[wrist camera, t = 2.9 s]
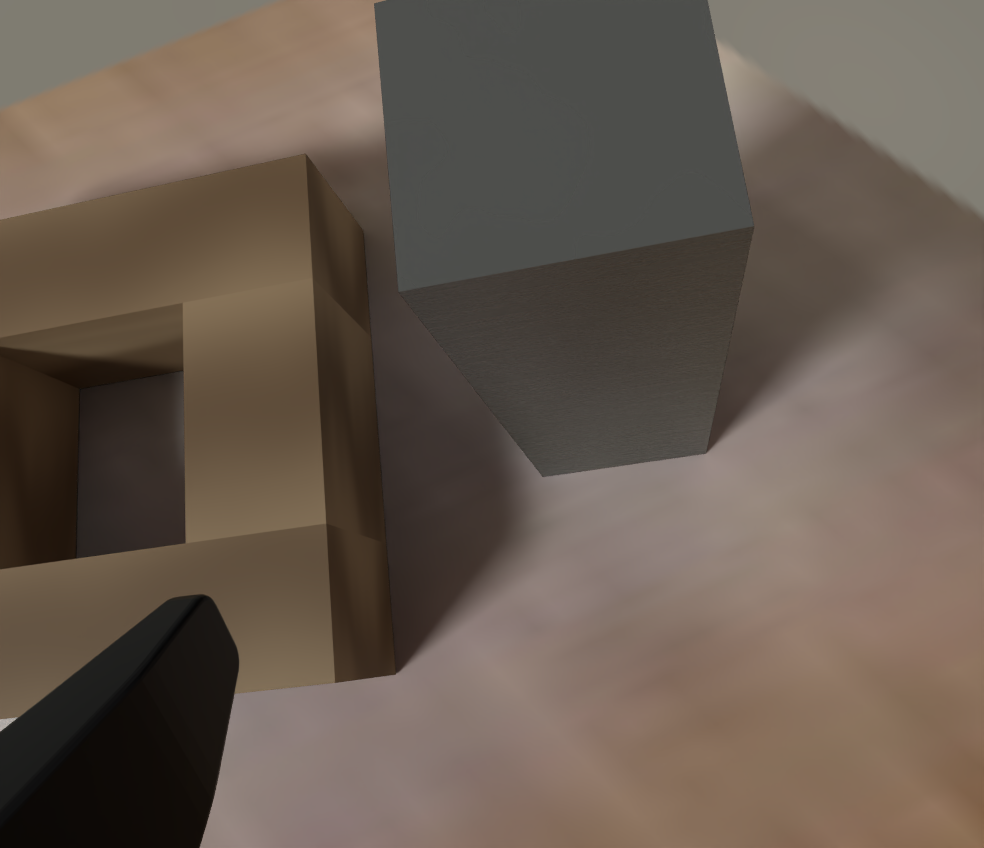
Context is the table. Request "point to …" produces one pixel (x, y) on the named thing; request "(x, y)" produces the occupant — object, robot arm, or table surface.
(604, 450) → the grey rectangular block
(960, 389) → the table surface
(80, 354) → the brown square wooden frame
